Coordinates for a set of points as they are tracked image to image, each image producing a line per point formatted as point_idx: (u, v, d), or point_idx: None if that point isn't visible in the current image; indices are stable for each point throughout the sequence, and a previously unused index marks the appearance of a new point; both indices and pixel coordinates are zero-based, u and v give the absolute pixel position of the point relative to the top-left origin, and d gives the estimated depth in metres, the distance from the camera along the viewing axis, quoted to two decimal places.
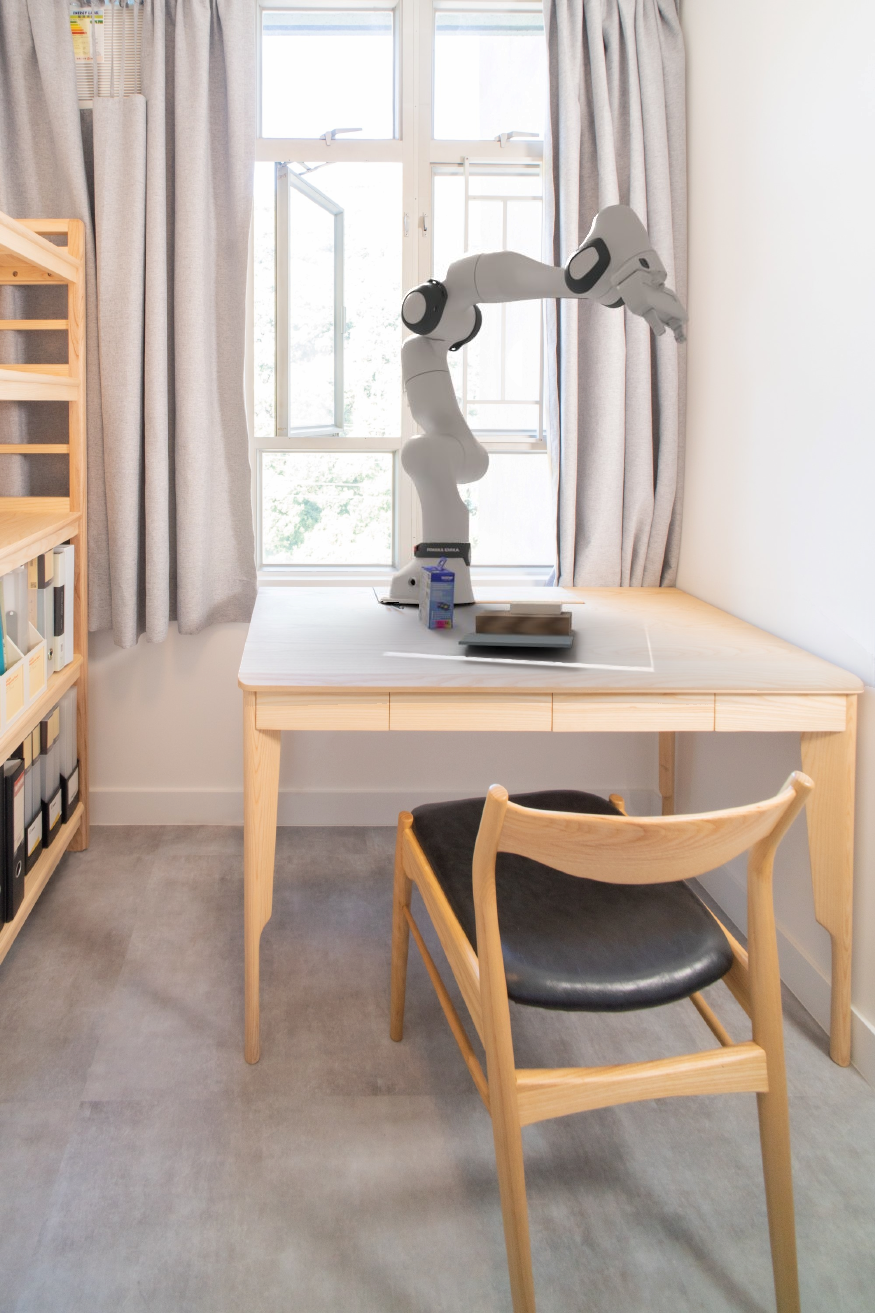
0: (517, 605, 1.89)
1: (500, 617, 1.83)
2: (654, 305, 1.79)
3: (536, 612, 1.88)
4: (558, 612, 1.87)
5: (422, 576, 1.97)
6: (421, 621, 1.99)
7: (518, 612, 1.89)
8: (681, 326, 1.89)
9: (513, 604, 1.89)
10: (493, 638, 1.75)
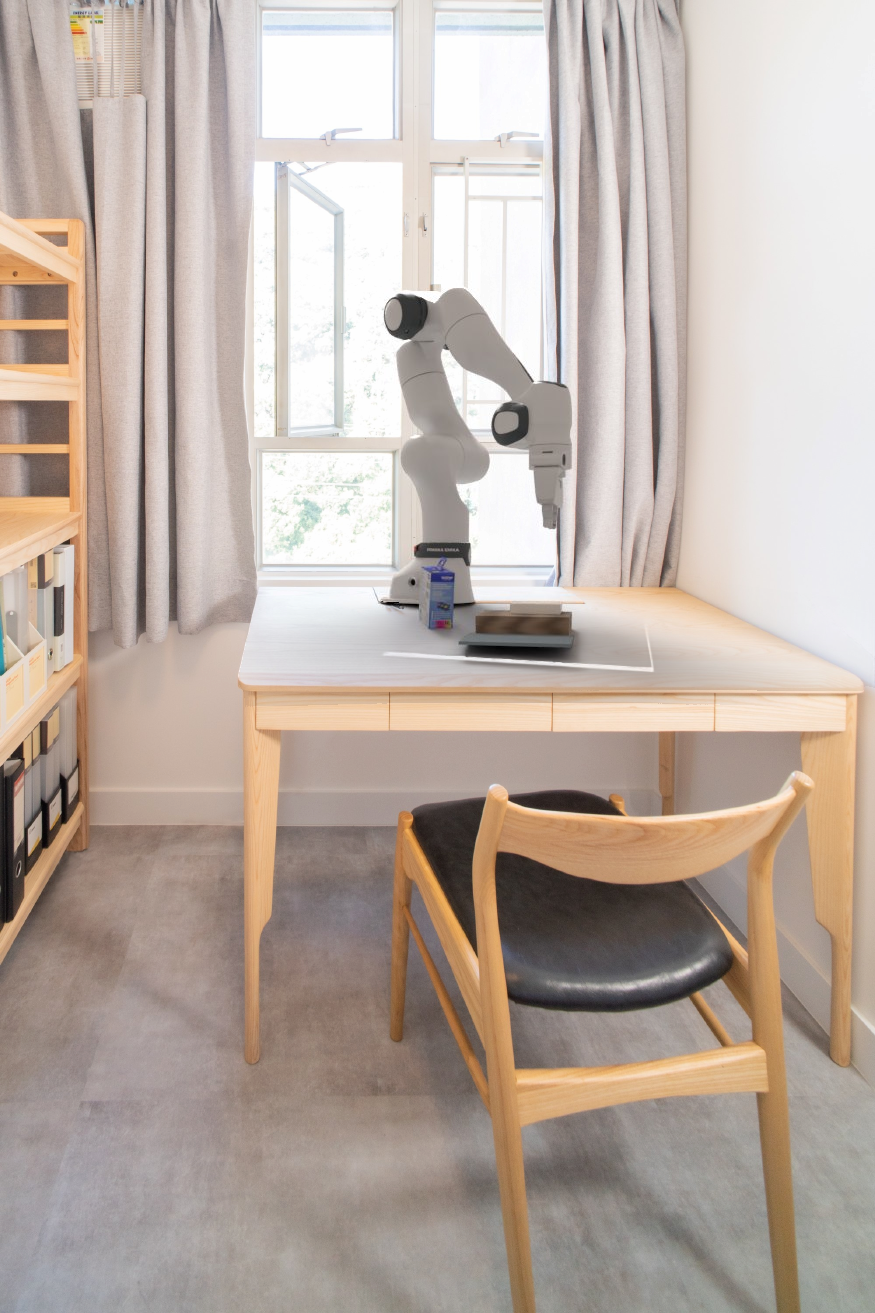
0: (517, 605, 1.89)
1: (500, 617, 1.83)
2: (555, 503, 1.90)
3: (536, 612, 1.88)
4: (558, 612, 1.87)
5: (422, 576, 1.97)
6: (421, 621, 1.99)
7: (518, 612, 1.89)
8: (556, 514, 2.02)
9: (513, 604, 1.89)
10: (493, 638, 1.75)
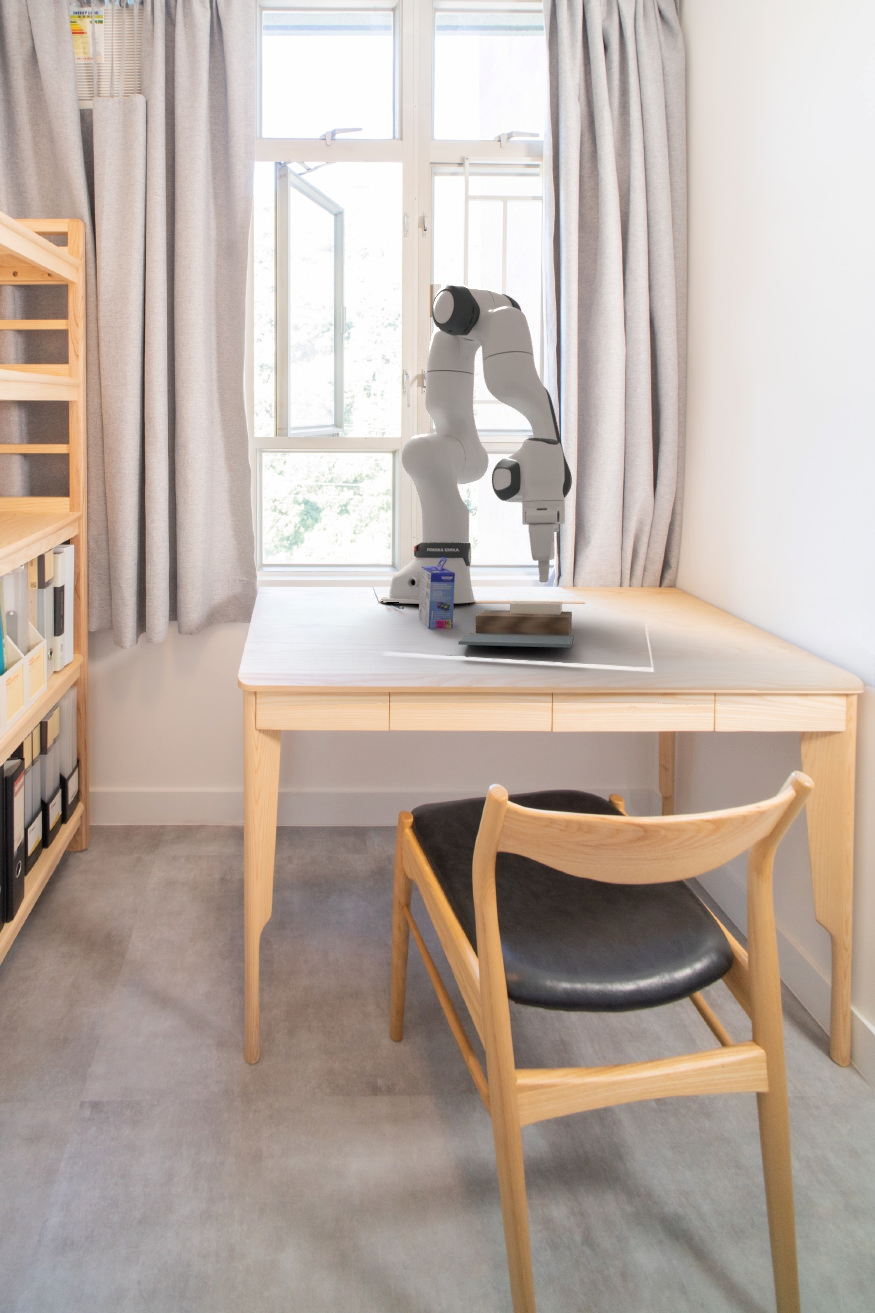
0: (517, 605, 1.89)
1: (500, 617, 1.83)
2: None
3: (536, 612, 1.88)
4: (558, 612, 1.87)
5: (422, 576, 1.97)
6: (421, 621, 1.99)
7: (518, 612, 1.89)
8: (548, 566, 2.01)
9: (513, 604, 1.89)
10: (493, 638, 1.75)
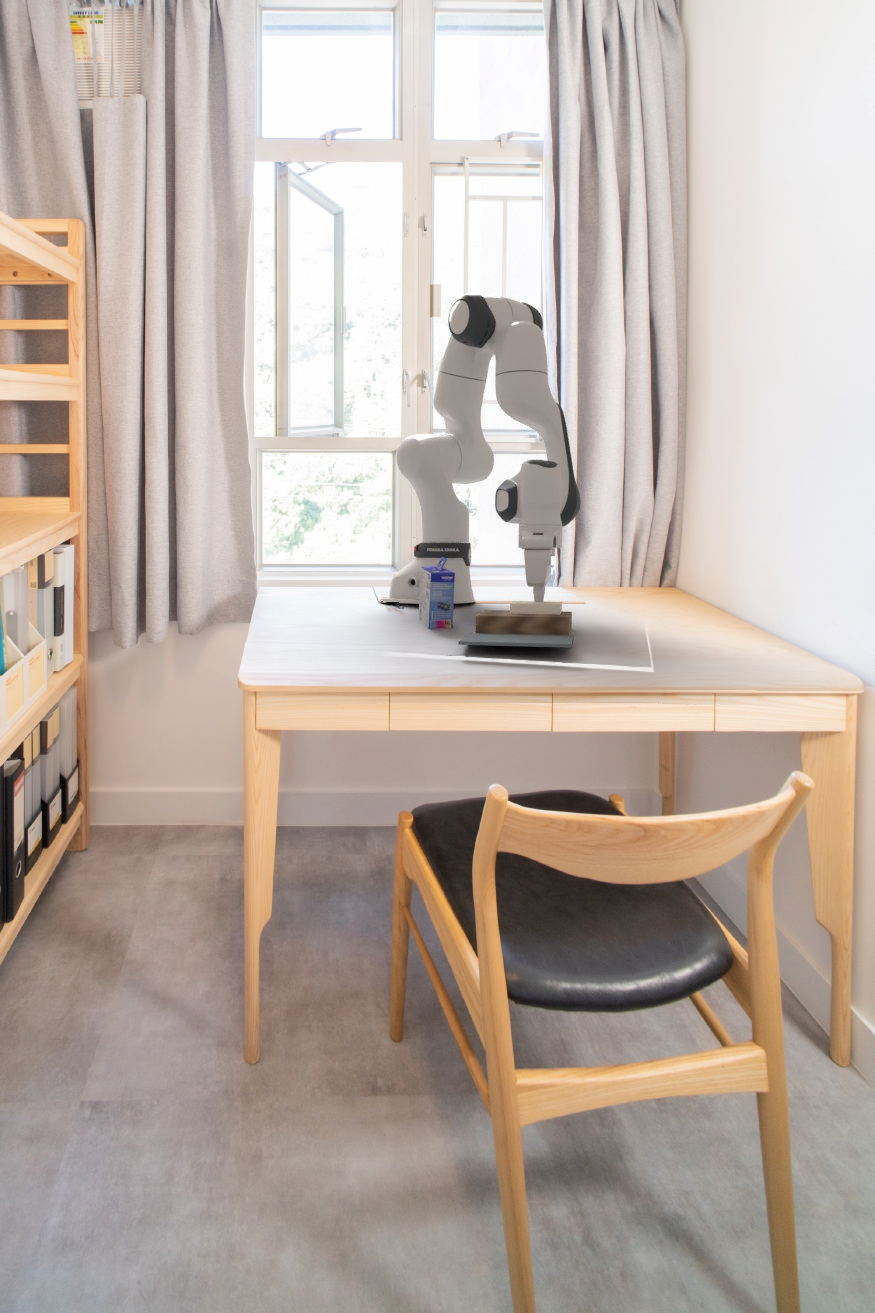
0: (517, 605, 1.88)
1: (500, 617, 1.83)
2: None
3: (536, 612, 1.88)
4: (558, 612, 1.87)
5: (422, 576, 1.97)
6: (421, 621, 1.99)
7: (518, 612, 1.88)
8: (543, 591, 1.97)
9: (513, 604, 1.88)
10: (493, 638, 1.75)
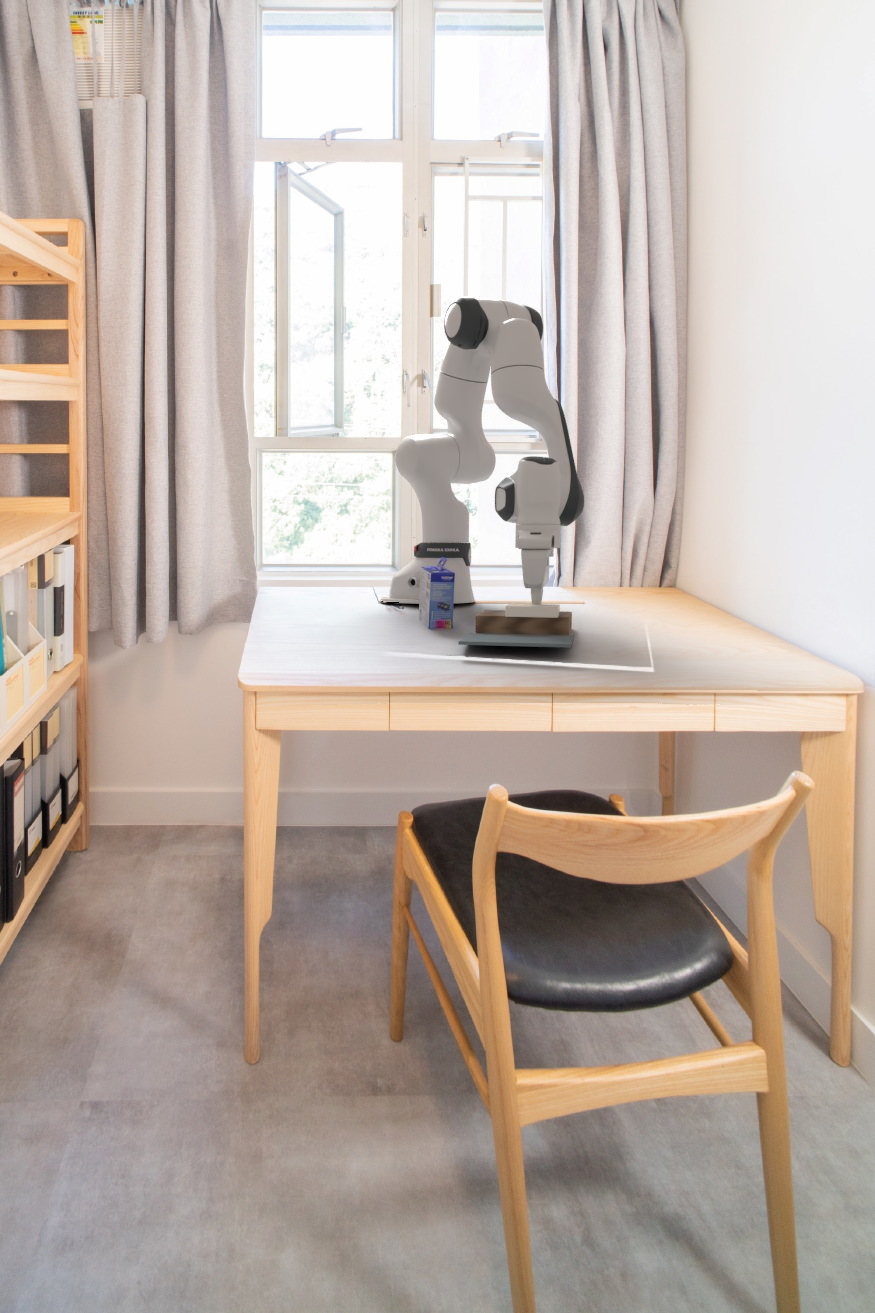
0: (513, 608, 1.81)
1: (500, 617, 1.83)
2: None
3: (532, 615, 1.81)
4: (555, 615, 1.80)
5: (422, 576, 1.97)
6: (421, 621, 1.99)
7: (514, 615, 1.81)
8: (541, 593, 1.90)
9: (508, 607, 1.81)
10: (493, 638, 1.75)
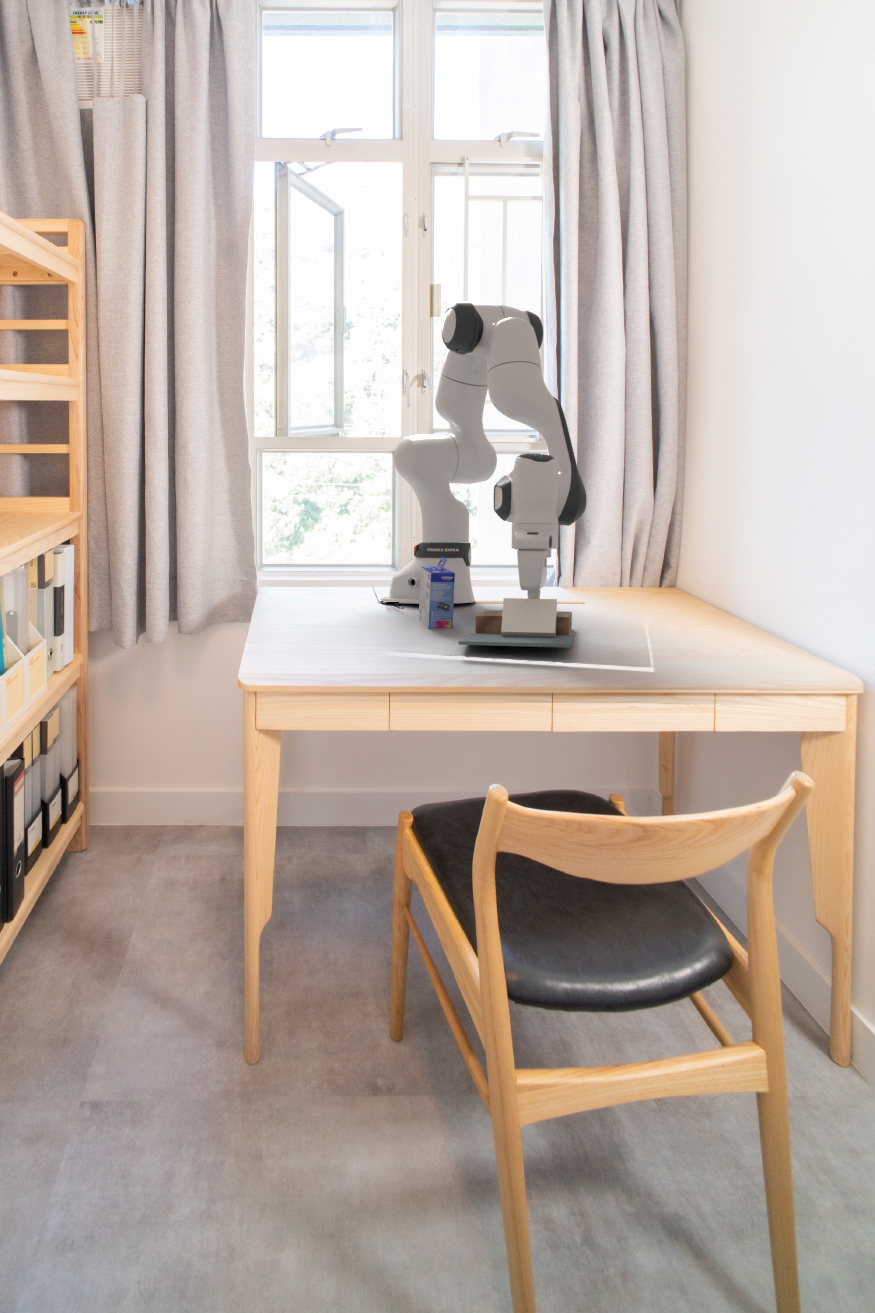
0: (509, 632, 1.77)
1: (500, 617, 1.83)
2: None
3: (530, 636, 1.78)
4: (553, 636, 1.77)
5: (422, 576, 1.97)
6: (421, 621, 1.99)
7: (511, 635, 1.78)
8: (539, 595, 1.83)
9: (504, 632, 1.77)
10: (493, 638, 1.75)
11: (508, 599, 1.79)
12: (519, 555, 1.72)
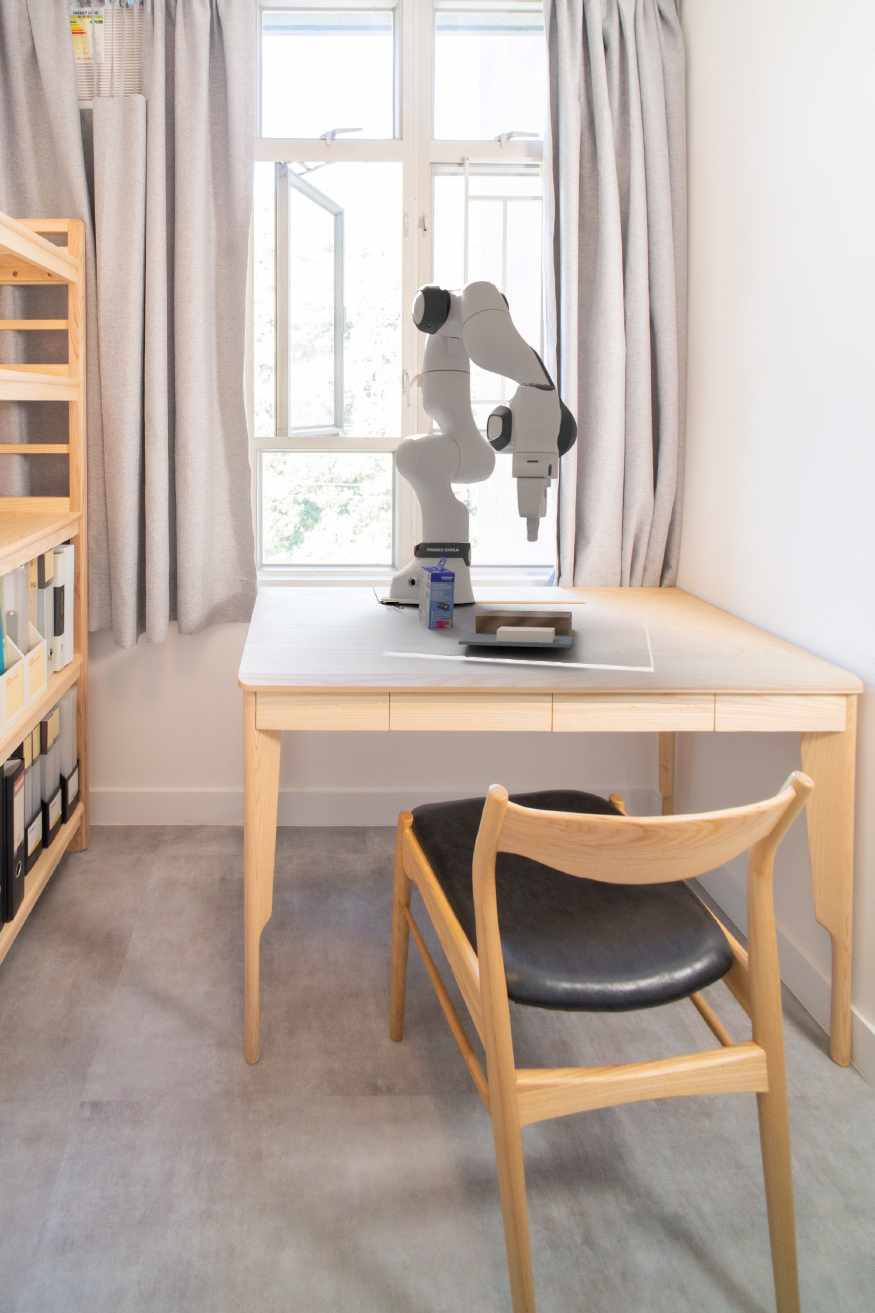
0: None
1: (500, 617, 1.83)
2: (539, 516, 1.77)
3: None
4: None
5: (422, 576, 1.97)
6: (421, 621, 1.99)
7: None
8: (538, 525, 1.85)
9: None
10: (493, 638, 1.75)
11: None
12: (518, 482, 1.74)
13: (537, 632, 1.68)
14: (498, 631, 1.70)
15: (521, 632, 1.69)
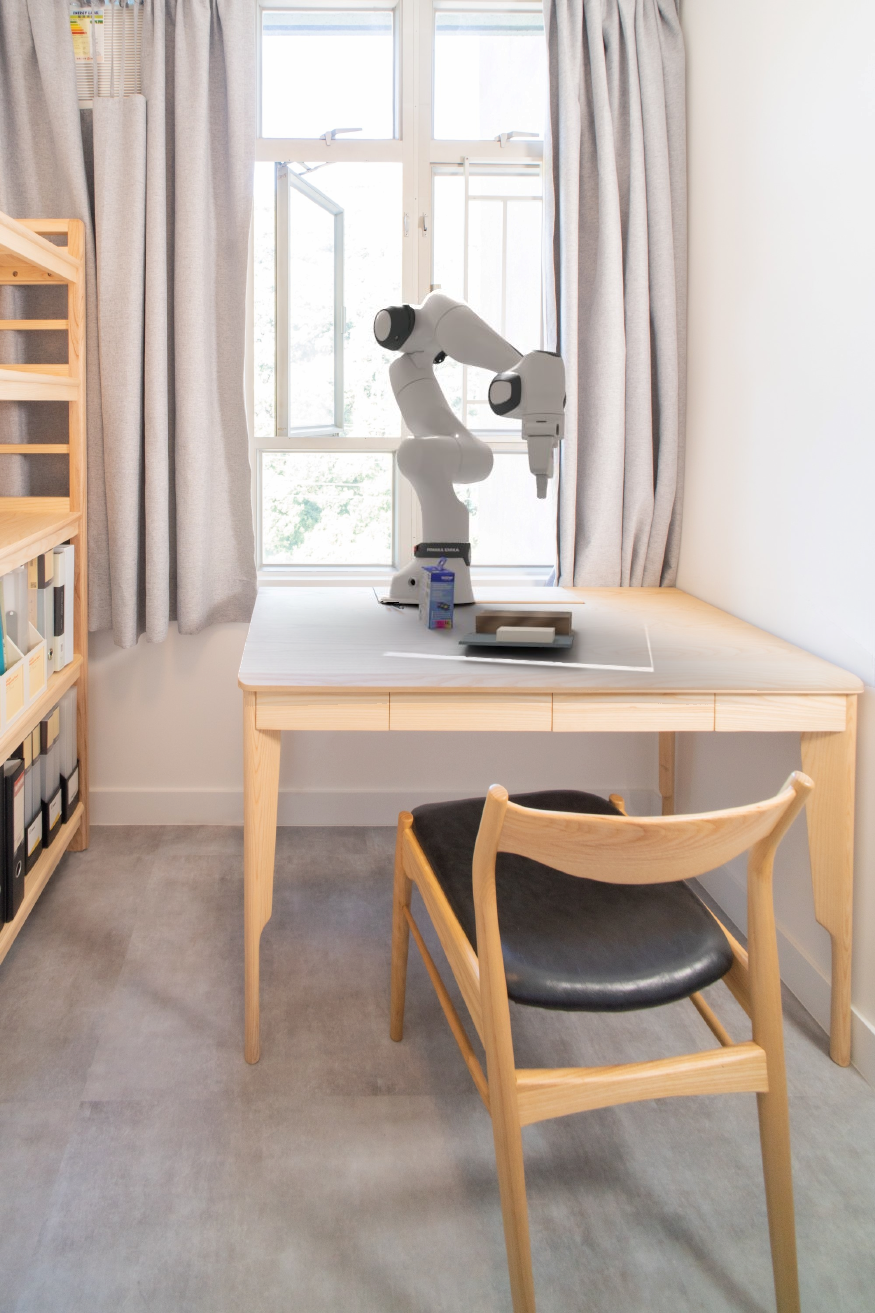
0: None
1: (500, 617, 1.83)
2: (548, 472, 1.90)
3: None
4: None
5: (422, 576, 1.97)
6: (421, 621, 1.99)
7: None
8: (546, 483, 1.98)
9: None
10: (493, 638, 1.75)
11: None
12: (529, 440, 1.87)
13: (537, 632, 1.68)
14: (498, 631, 1.70)
15: (521, 632, 1.69)
